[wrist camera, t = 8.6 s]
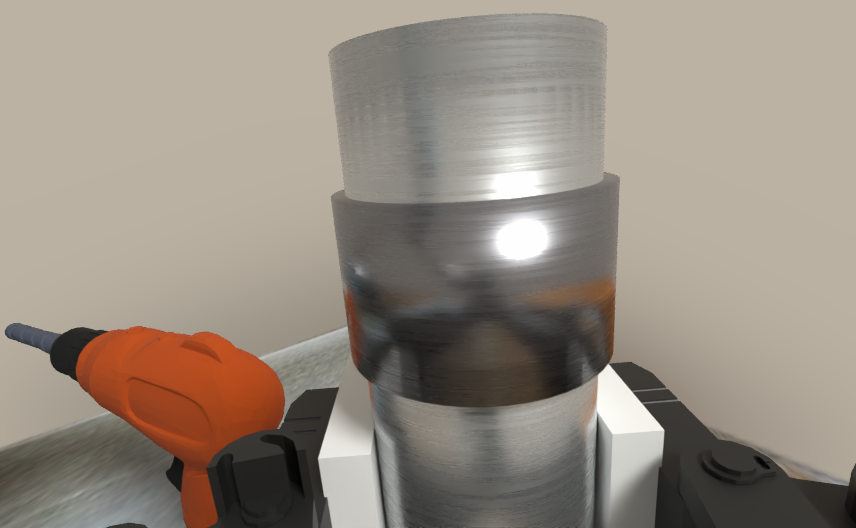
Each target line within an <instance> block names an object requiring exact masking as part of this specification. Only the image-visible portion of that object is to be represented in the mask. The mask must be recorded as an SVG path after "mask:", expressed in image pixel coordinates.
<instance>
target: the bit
mask: <svg viewBox="0 0 856 528" xmlns="http://www.w3.org/2000/svg"><path fill="white" fill-rule="evenodd" d="M606 60H607V26H606V25H605V24H604V23H603V22H600V21H598V20H595V19H591V18H587V17H581V16H575V15H563V14H539V13H535V14H534V13H531V14H499V15H483V16H471V17H461V18H452V19H443V20H436V21H429V22H423V23H417V24H411V25H405V26H400V27H395V28H390V29H385V30H381V31H377V32H373V33H369V34H365V35H362V36H359V37H356V38H353V39H350V40H348V41H345V42H343V43H341V44H339V45H337V46H336V47H334V48H333V49H332V50H331V51H330V52H329V64H330V72H331V80H332V88H333V97H334V105H335V113H336V121H337V129H338V138H339V146H340V154H341V162H342V170H343V179H344V187H345V189H344V190H341V191H339V192H336V193H334V194H333V195H332V196H331V201H332V209H333V217H334V224H335V232H336V240H337V246H338V255H339V263H340V271H341V279H342V285H343V294H344V302H345V309H346V317H347V325H348V332H349V340H350V348H351V355H352V359H353V363H354V365H355V367H356V368H357V370H358V371H359V372H360V373H361V374H362V376H363V377H364V378H366V379H367V380H368V384H369V393H370V401H371V409H372V417H373V424H374V430H375V438H376V446H377V454H378V463H379V471H380V479H381V487H382V496H383V504H384V512H385V520H386V528H594V505H595V468H596V431H597V395H598V374H599V373H601V372H602V371H603V370H604V369H605V367H606V366H607V365H608V363H609V362H610V360H611V357H612V355H613V346H614V319H615V292H616V265H617V237H618V210H619V183H620V178H619V177H618V176H617V175H614V174H610V173H606V172H604V170H603V169H604V136H605V135H604V134H605V99H606Z"/></svg>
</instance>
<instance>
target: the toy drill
mask: <svg viewBox="0 0 856 528" xmlns="http://www.w3.org/2000/svg"><path fill="white" fill-rule="evenodd" d="M5 335H6V336H7V337H8V338H10V339H13V340H17V341H18V342H21V343H24V344H27V345H30V346H33V347H36V348H39V349H41V350H42V351H44V352H46V353H49V354H50V360H51V363H52V365H53V367H54V368H55V369H56V370H57V371H59V372H60V373H63V374H66V375H69V376H70V377H71V378H72V379H74V380H76V381H77V382H79V384H80V386H81V387H82V388H83V389H84V390H85V391H86V392H88V393H89V394H90V396H92V398H94V399H95V401H96V402H97V403H98V404H99V405H101V406H102V407H103V408H105V409H107V410H109V411H110V412H112V413H114V414H115V415H117V416H119V417H120V418H122V419H123V420H125V421H126V422H128V423H129V424H131V425H132V426H133V427H135V428H136V429H137V430H139V431H140V432H141V433H142V434H144V435H145V436H146V437H148V438H149V439H150V440H152V441H153V442H154V443H156V444H157V445H158V446H160V447H162V448H163V449H165V450H166V451H168V452H169V453H171V454H173V455H174V460H173V463H172V466H171V468H170V469H169V470H167V471H166V475H167V478H168V479H169V480H170V482H171V483H172V484H173V485H174V486H175V487H176V488H177V489H178V490H179V491H180V492H181V501H182V507H183V515H184V521H185V524H186V526H187V528H207V527H209V526H212V525H213V524H215V523H217V519H218V516H217V512H216V508H215V503H214V499H213V495H212V491H211V487H210V483H209V479H208V474H207V470H206V467H207V466H208V464H209V463H210V461H211V460H212V458H213V457H214V455H215V454H217V453H218V452H219V451H220V450H222V449H223V448H224V447H225V446H226V445H228V444H229V443H231V442H233V441H235V440H237V439H239V438H241V437H243V436H245V435H248V434H252V433H255V432H259V431H262V430H275V429H277V428H278V426H279V424H280V422H281V420H282V418H283V414H284V406H285V397H284V391H283V386H282V384H281V382H280V380H279V378H278V376H277V374H276V373H275V372H274V371H273V370H272V369H271V368H270V367H269V366H268V365H267V364H266V363H264V362H263V361H261V360H260V359H259V358H257V357H256V356H254V355H252V354H250V353H248V352H246V351H243V350H241V349H238V348H236V347H235V346H234V345H233V344H232V343H231V342H229V341H228V340H226V339H224V338H222V337H221V336H219V335H217V334H213V333H210V332H199V333H196V334H194V335H192V336H190V335H186V334H175V333H173V332H164V331H160V330H156V329H151V328H146V327H142V326H136V327H132V328H129V329H126V330H119V329H118V330H112V331H104V330H97V331H96V330H93V329H89V328H84V327H80V328H74V329H71V330H69V331H67V332H65V333H63V334H57V333H53V332H49V331H43V330H41V329H38V328H34V327H31V326H28V325H23V324H21V323H13V324H11V325H9V326H8V327H7V328H6V330H5Z"/></svg>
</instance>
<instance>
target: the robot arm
mask: <svg viewBox="0 0 856 528" xmlns="http://www.w3.org/2000/svg"><path fill="white" fill-rule="evenodd" d="M206 470H207V474H208V479H209V483H210V487H211V491H212V495H213V499H214V503H215V508H216V512H217V516H218V519H217V523H215V524H213V525H212V526H209V527H207V528H386V520H385V512H384V504H383V496H382V487H381V479H380V471H379V463H378V454H377V446H376V438H375V430H374V424H373V417H372V409H371V401H370V393H369V384H368V380H367V379H366V378H364V377H363V376H362V374H361V373H360V372H359V371H358V370H357V368H356V367H355V365H354V363H353V359H352V355H351V349H350V352H349V356H348V359H347V363H346V366H345V369H344V373H343V376H342V380H341V383H340V386H339V387H337V388H325V389H313V390H306V391H305V392H304V393H303V394H302V395H301V396H299V397H298V398H297V399H296V400H295V401H294V402H293V403H292V404H291V406H290V408H289V410H288V412H287V414H286V417H285V419H284V423H282V425H281V428H280V429H275V430H262V431H259V432H255V433H252V434H248V435H245V436H243V437H241V438H239V439H237V440H235V441H233V442H231V443H229V444H228V445H226V446H225V447H224V448H223V449H222V450H220V451H219V452H218V453H217V454H215V455H214V457H213V458H212V460H211V461H210V463H209V464H208V466H207V467H206ZM107 528H147V527H146V526H145V525H141V524H135V523H125V524H119V525H114V526H109V527H107ZM594 528H856V464H855V466H854V468H853V470H852V472H851V478H850V482H849V486H844V485H837V484H830V483H822V482H815V481H808V480H801V479H795V478H790V477H789V476H788V475H787V474H786V473H785V472H784V470H783V469H782V468H780V467H779V466H778V465H777V464H776V463H775V462H774V461H773V460H771V459H770V458H769V457H767V456H765V455H763V454H762V453H760V452H758V451H756V450H754V449H752V448H750V447H747V446H744V445H741V444H738V443H735V442H732V441H725V440H718V439H717V438H716V437H715V436H714V435H713V434H712V433H711V432H710V431H709V430H708V429H707V428H706V427H705V426H704V425H703V424H702V423H701V422H700V421H699V420H698V419H697V418H696V417H695V416H694V415H693V414H692V413H691V412H690V411H689V410H688V409H687V408H686V407H685V406H684V405H683V404H682V403H681V402H680V401H678V400H677V398H676V397H675V396H674V395H673V394H672V393H671V392H670V391H669V390H668V389H666V387H665V386H664V385H663V384H662V382H661V381H659V379H658V378H656V376H655V375H654V374H652V373H651V372H649V371H647V370H645V369H644V368H642V367H639V366H638V365H636V364H634V363H632V362H626V363H625V362H624V363H613V364H608V365H607V366H606V367H605V369H604V370H603V371H602V372H601V373H599V374H598V395H597V431H596V468H595V505H594Z"/></svg>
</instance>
